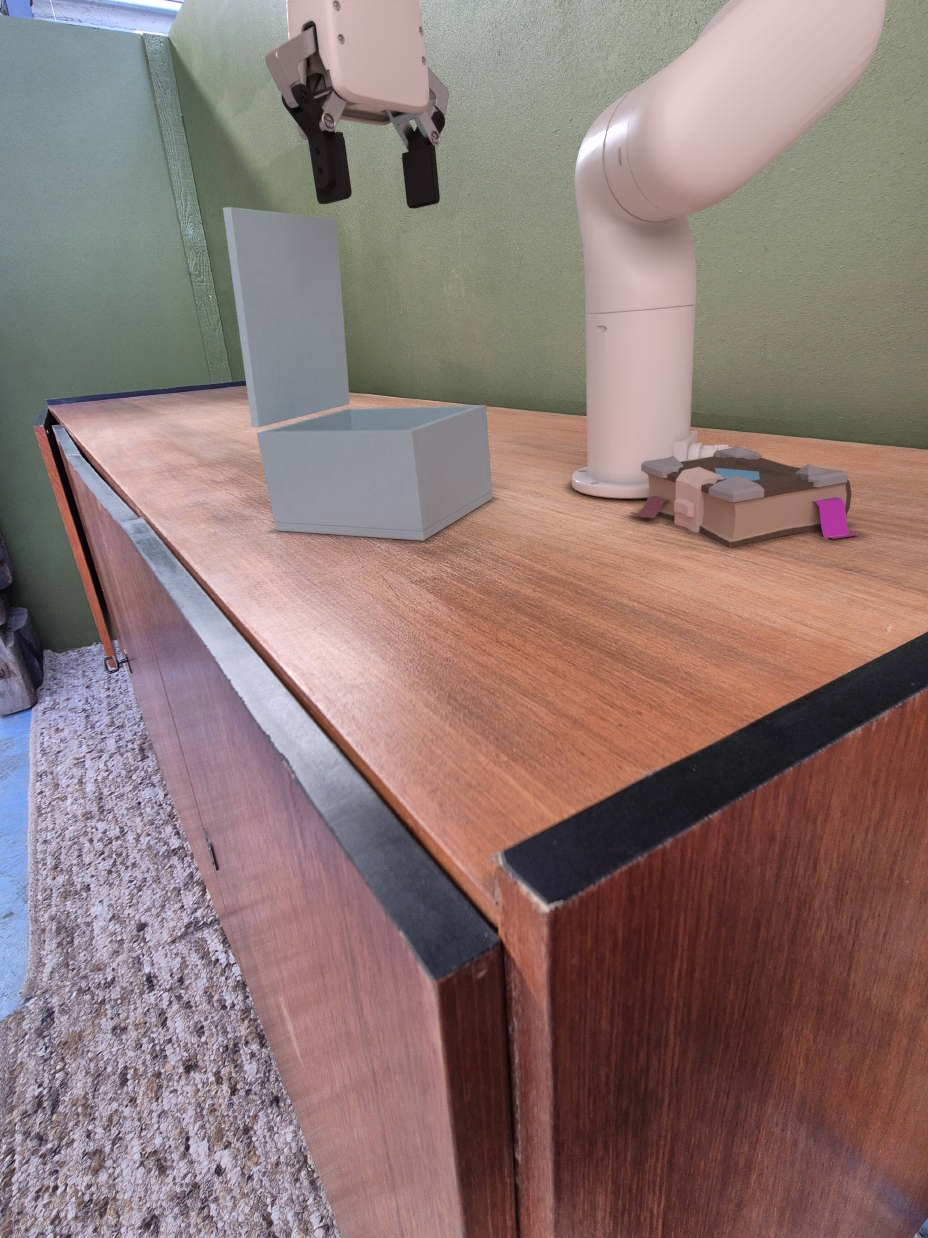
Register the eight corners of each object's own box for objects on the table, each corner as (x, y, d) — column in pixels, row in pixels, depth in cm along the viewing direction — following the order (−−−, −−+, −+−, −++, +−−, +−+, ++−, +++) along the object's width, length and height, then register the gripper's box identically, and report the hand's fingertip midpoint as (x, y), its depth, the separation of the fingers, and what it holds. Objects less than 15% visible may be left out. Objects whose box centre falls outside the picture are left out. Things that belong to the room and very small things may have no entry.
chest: (492, 498, 69) (486, 404, 65) (423, 541, 58) (411, 430, 54) (359, 493, 76) (347, 408, 72) (275, 530, 65) (256, 432, 61)
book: (591, 503, 65) (590, 448, 63) (706, 483, 68) (709, 430, 66) (728, 566, 48) (733, 492, 46) (875, 536, 51) (886, 466, 49)
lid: (336, 218, 65) (296, 220, 67) (230, 206, 54) (185, 209, 56) (350, 403, 72) (313, 401, 74) (258, 427, 61) (218, 423, 63)
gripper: (396, -30, 57) (421, 214, 64) (206, -101, 45) (261, 207, 52) (469, -67, 52) (487, 200, 59) (278, -157, 41) (328, 189, 47)
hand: (381, 203), depth 56 cm, fingers open, 9 cm apart
